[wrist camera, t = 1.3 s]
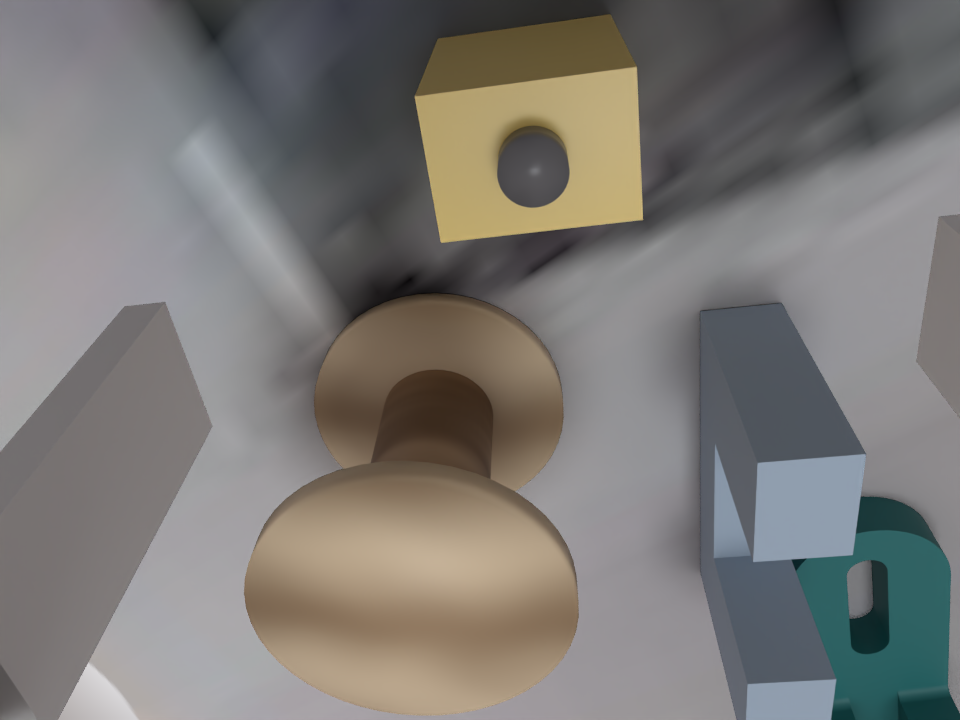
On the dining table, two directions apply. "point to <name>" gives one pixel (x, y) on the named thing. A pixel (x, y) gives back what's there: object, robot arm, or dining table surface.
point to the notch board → (770, 506)
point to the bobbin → (422, 518)
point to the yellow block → (531, 129)
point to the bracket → (886, 618)
